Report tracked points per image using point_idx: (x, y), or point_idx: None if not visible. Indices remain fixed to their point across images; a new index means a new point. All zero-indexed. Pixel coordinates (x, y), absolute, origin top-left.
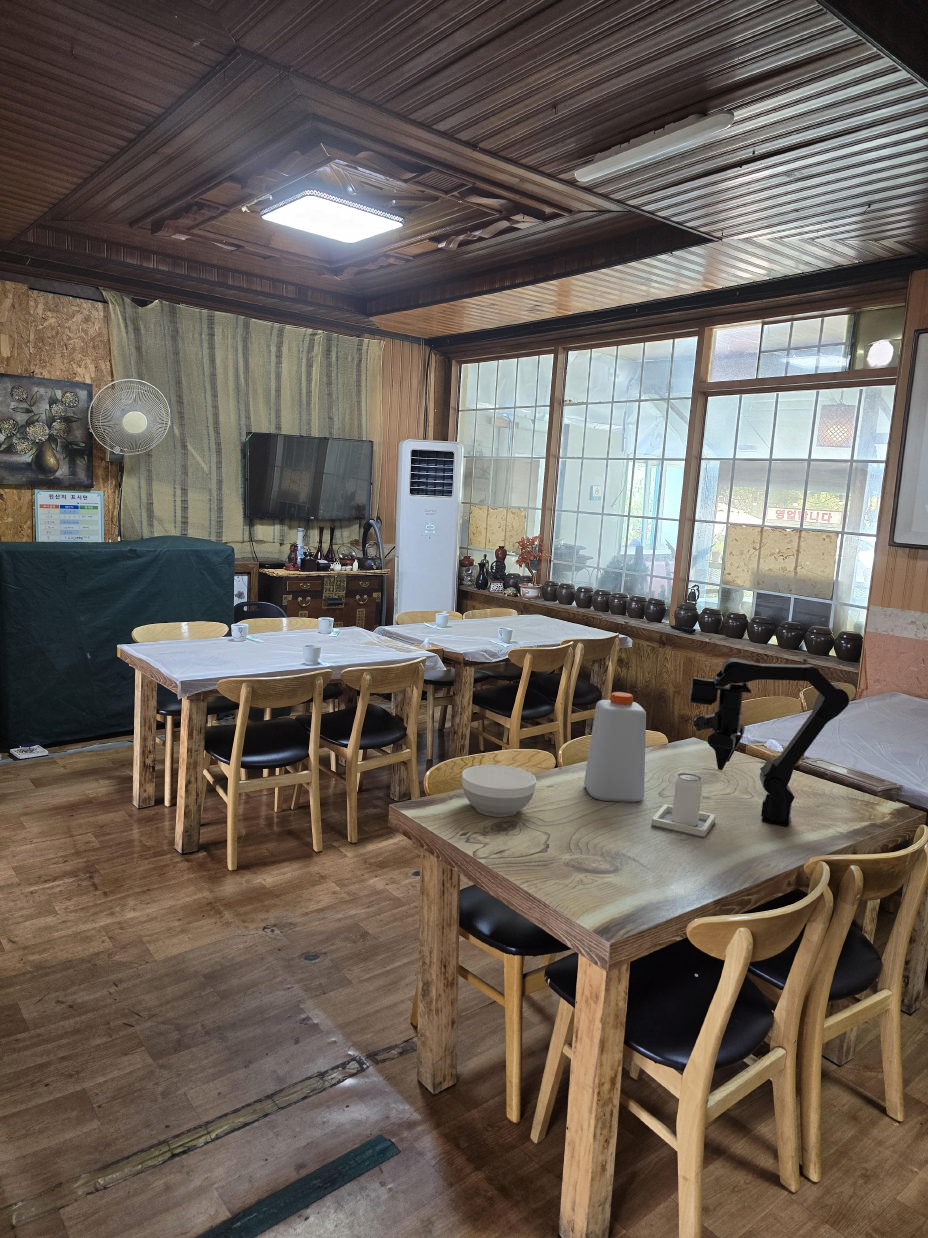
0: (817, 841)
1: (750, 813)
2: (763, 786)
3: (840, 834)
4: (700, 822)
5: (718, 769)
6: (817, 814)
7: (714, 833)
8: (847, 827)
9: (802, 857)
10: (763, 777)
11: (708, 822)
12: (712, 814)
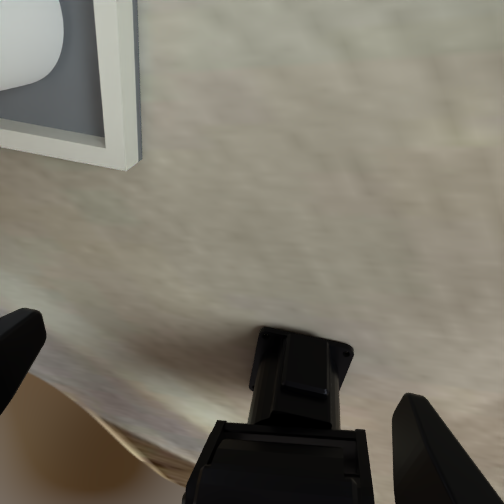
0: (180, 422)
1: (346, 300)
2: (216, 453)
3: None
4: (66, 94)
5: (22, 312)
6: None
7: (19, 158)
8: None
9: (39, 374)
10: (233, 502)
11: (2, 139)
12: (122, 156)
